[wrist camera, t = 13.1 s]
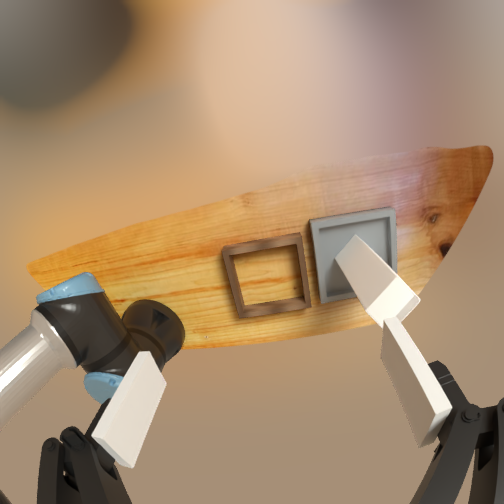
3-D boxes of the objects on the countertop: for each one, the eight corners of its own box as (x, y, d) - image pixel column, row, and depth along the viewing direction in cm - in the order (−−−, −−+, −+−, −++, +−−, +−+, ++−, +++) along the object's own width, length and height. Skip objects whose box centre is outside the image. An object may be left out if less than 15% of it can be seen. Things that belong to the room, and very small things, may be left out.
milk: (375, 252, 49) (432, 311, 28) (355, 275, 50) (399, 346, 30) (354, 233, 48) (408, 287, 27) (333, 258, 49) (372, 325, 29)
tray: (319, 297, 53) (321, 303, 51) (309, 219, 48) (311, 222, 46) (392, 282, 51) (396, 287, 49) (389, 206, 46) (395, 209, 44)
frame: (240, 310, 55) (239, 318, 52) (224, 245, 51) (221, 251, 48) (309, 299, 53) (311, 307, 51) (299, 232, 49) (301, 237, 46)
